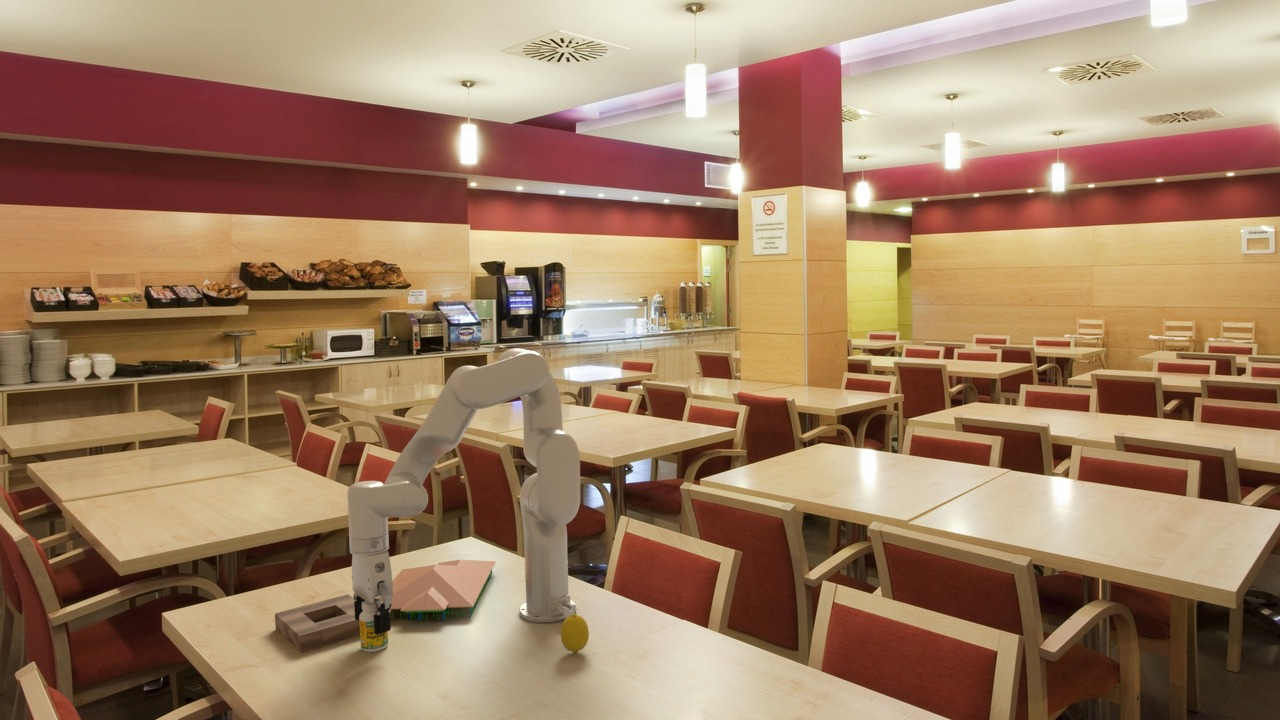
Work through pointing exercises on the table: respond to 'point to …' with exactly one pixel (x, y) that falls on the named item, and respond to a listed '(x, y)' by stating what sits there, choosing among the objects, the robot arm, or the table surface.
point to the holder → (319, 623)
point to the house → (440, 587)
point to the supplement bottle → (370, 630)
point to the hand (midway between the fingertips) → (372, 625)
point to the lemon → (574, 633)
